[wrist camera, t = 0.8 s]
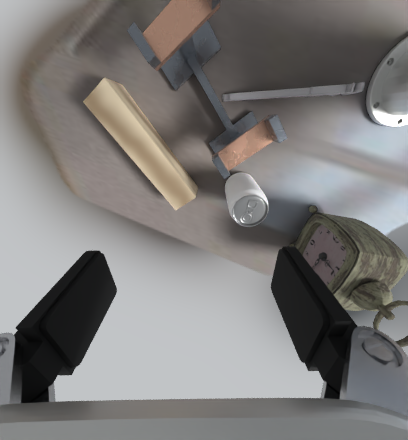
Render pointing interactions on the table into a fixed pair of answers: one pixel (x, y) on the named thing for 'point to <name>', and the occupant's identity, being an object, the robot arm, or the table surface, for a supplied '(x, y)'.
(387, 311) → the tabletop clock
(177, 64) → the grey support stand
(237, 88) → the table surface
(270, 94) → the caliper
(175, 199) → the rail
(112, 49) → the table surface
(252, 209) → the can
